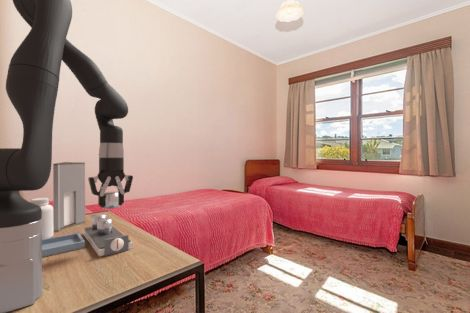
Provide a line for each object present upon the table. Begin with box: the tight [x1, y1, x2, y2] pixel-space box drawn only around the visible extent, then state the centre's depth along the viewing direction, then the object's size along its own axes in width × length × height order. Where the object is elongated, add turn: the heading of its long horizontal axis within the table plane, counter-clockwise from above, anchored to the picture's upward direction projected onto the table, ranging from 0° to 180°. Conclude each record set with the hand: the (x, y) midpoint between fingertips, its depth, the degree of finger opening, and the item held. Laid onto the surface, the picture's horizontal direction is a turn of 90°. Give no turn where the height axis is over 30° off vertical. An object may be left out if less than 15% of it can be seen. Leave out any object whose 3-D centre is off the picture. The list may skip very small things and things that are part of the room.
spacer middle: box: [97, 217, 113, 235], centre depth 89 cm, size 5×5×5 cm
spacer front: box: [102, 191, 120, 210], centre depth 82 cm, size 5×5×5 cm
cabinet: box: [52, 161, 86, 233], centre depth 109 cm, size 21×10×28 cm, turn 25°
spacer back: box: [91, 212, 107, 229], centre depth 96 cm, size 5×5×5 cm
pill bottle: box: [30, 197, 55, 239], centre depth 91 cm, size 8×8×15 cm
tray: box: [42, 232, 86, 258], centre depth 82 cm, size 12×12×2 cm
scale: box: [82, 225, 133, 257], centre depth 88 cm, size 29×10×5 cm, turn 41°
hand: (111, 205), depth 82 cm, fingers closed on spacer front, 5 cm apart
